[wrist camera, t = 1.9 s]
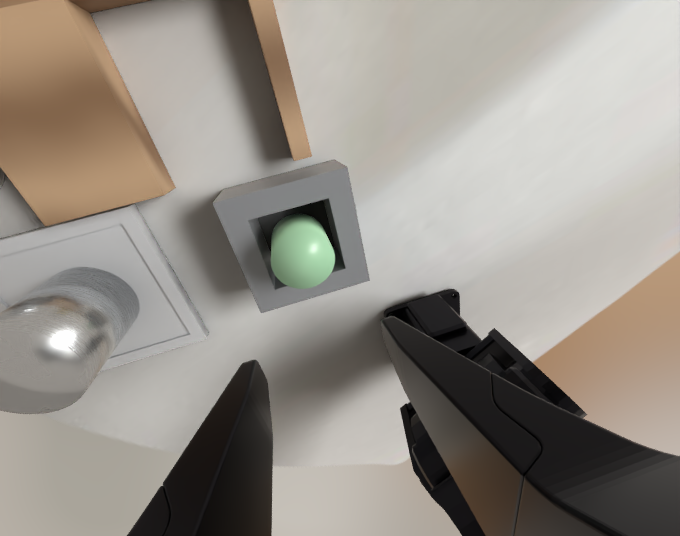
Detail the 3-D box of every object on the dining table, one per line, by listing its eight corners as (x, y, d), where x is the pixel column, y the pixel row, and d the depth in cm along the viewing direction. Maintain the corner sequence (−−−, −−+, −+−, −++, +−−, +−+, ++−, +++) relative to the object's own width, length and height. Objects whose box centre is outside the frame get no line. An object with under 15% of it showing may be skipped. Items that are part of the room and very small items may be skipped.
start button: (331, 256, 18) (340, 278, 15) (281, 270, 18) (282, 296, 15) (318, 207, 16) (326, 222, 14) (263, 222, 16) (261, 241, 14)
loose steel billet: (154, 321, 20) (111, 393, 14) (79, 343, 19) (5, 426, 14) (110, 257, 17) (39, 315, 12) (23, 281, 17) (-90, 352, 12)
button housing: (355, 257, 21) (369, 280, 18) (262, 285, 21) (261, 313, 18) (334, 159, 18) (347, 166, 15) (223, 189, 17) (212, 202, 14)
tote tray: (208, 332, 21) (206, 339, 21) (70, 374, 21) (63, 383, 20) (134, 203, 17) (128, 206, 16) (-49, 251, 16) (-63, 257, 15)
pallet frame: (308, 153, 17) (311, 156, 16) (-81, 254, 16) (-126, 271, 14) (251, -69, 13) (247, -99, 11) (-303, 41, 11) (-409, 25, 9)
